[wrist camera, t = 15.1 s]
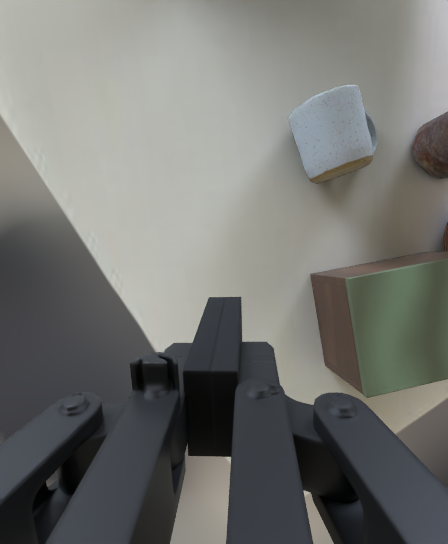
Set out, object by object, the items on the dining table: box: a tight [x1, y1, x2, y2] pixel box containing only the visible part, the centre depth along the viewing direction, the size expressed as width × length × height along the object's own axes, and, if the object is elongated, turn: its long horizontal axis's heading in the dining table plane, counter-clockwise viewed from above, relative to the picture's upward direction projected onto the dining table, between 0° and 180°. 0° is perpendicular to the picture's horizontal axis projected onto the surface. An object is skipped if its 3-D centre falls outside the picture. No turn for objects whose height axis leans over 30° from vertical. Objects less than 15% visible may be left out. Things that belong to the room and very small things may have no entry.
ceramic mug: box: [289, 85, 377, 183], centre depth 36 cm, size 11×8×8 cm
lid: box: [345, 258, 448, 398], centre depth 32 cm, size 16×12×1 cm
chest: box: [310, 251, 448, 394], centre depth 37 cm, size 16×12×9 cm
